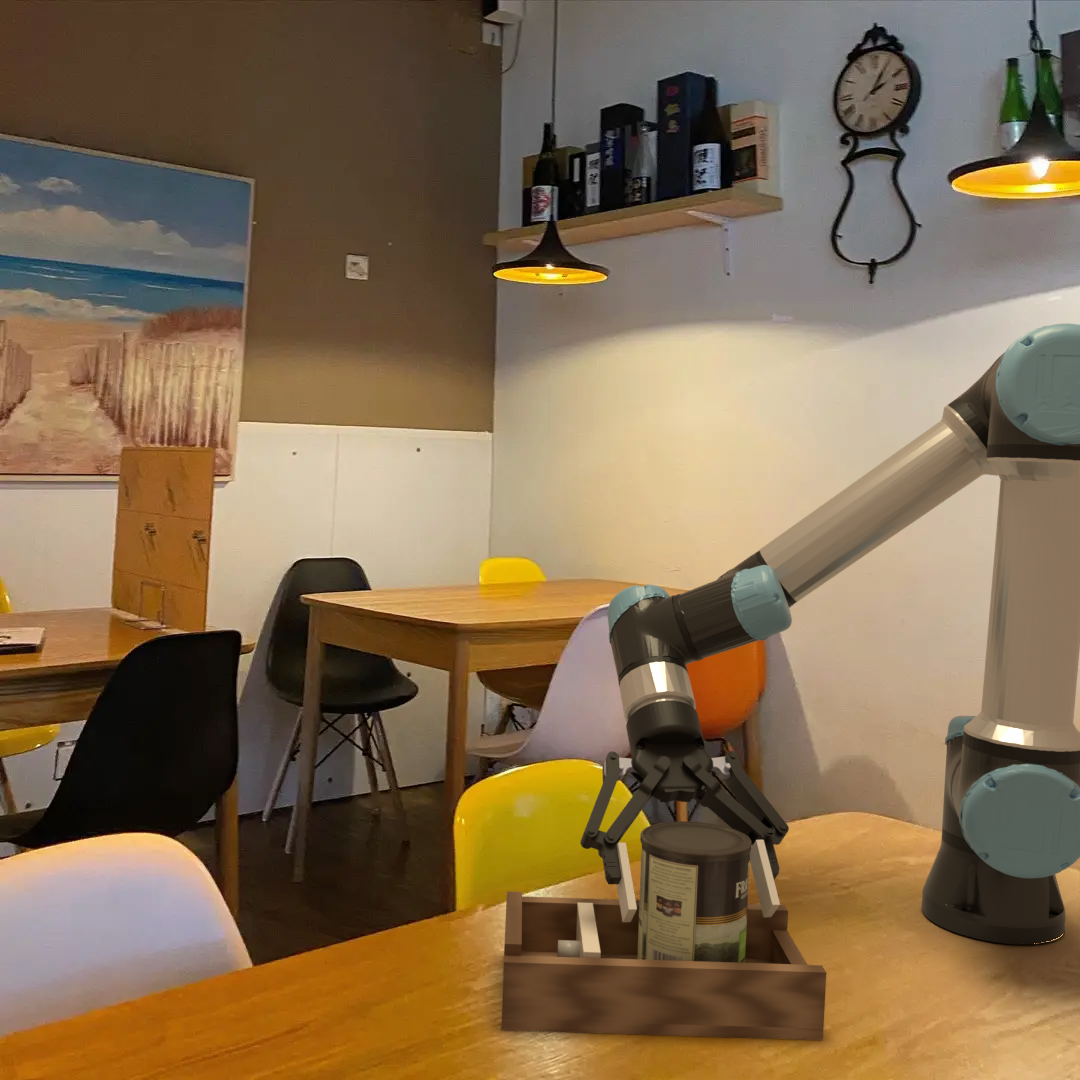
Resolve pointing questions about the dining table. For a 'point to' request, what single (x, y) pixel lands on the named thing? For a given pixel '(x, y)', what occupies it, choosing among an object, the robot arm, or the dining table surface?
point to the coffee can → (693, 892)
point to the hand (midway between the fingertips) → (701, 913)
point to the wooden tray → (653, 979)
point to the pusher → (582, 936)
